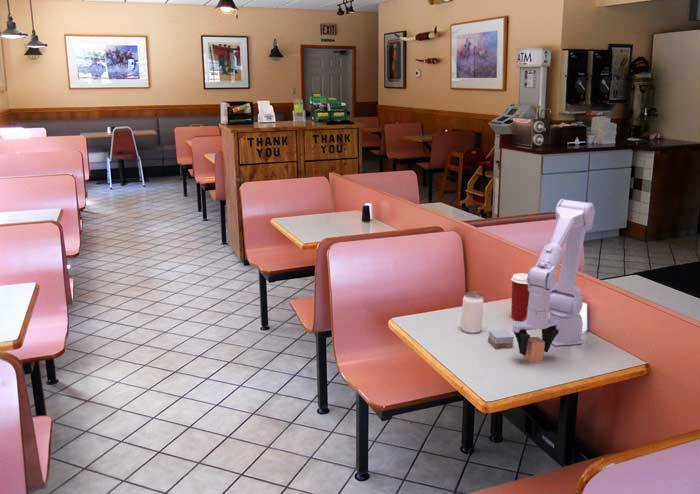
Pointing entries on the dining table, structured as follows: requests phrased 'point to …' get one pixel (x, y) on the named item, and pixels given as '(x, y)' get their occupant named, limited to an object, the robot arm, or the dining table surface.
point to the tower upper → (500, 336)
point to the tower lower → (499, 346)
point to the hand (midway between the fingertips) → (533, 352)
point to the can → (472, 312)
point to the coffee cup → (519, 297)
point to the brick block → (535, 349)
